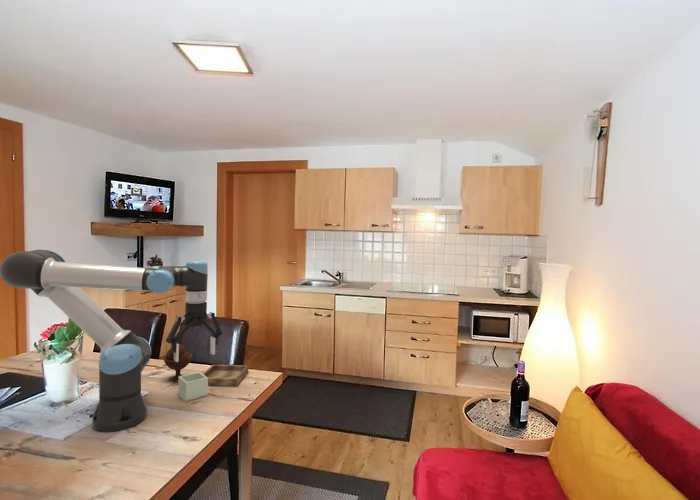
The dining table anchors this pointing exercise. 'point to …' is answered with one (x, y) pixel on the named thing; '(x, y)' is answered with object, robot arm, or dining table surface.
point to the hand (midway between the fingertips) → (194, 357)
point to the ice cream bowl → (177, 366)
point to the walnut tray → (226, 375)
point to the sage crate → (192, 386)
